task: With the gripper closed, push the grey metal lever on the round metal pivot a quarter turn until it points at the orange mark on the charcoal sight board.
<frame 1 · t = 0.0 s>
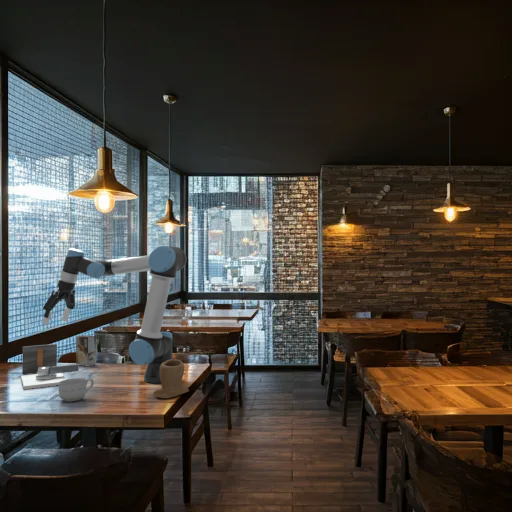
hand: (54, 322, 219), 28 cm above the table, tool tilted 20°, fingers open, 13 cm apart
base plate: (43, 381, 216), on the table
coffee box: (85, 365, 254), on the table
sight board: (39, 372, 235), on the table
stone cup: (173, 396, 191), on the table
grey metal lever: (57, 371, 220), point 4 cm above the table, hinge at 0.0°
teacup: (76, 399, 186), on the table
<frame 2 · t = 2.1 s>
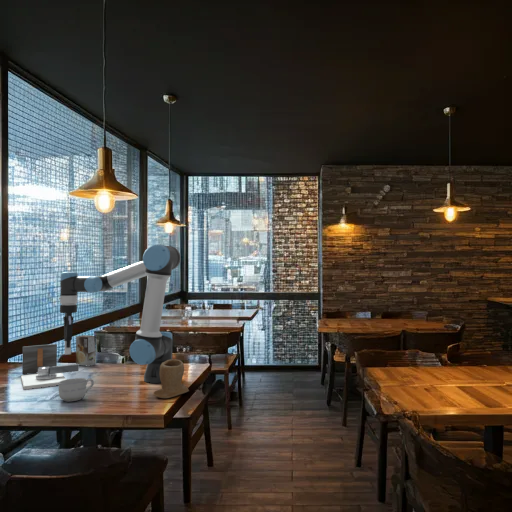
hand: (67, 354, 216), 13 cm above the table, tool pointing down, fingers closed
nothing on the table moved.
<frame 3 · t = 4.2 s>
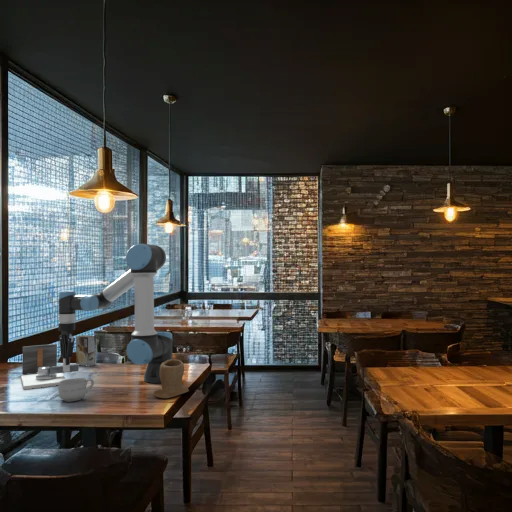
hand: (66, 371, 220), 4 cm above the table, tool pointing down, fingers closed
grey metal lever: (57, 371, 220), point 4 cm above the table, hinge at 0.0°, touching gripper
everything else where it was.
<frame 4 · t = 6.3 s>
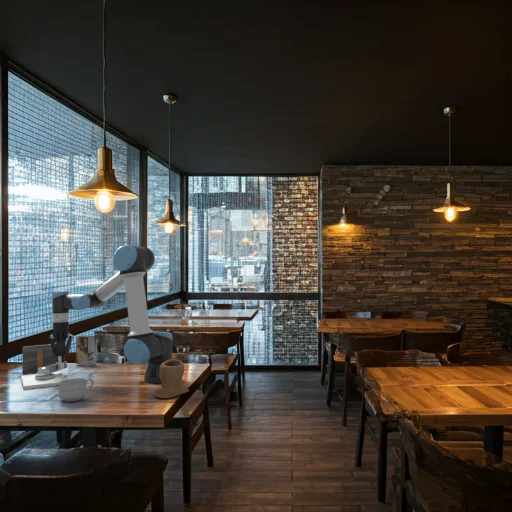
hand: (61, 369, 226), 4 cm above the table, tool pointing down, fingers closed
grey metal lever: (52, 369, 222), point 4 cm above the table, hinge at 45.0°, touching gripper
everything else where it was.
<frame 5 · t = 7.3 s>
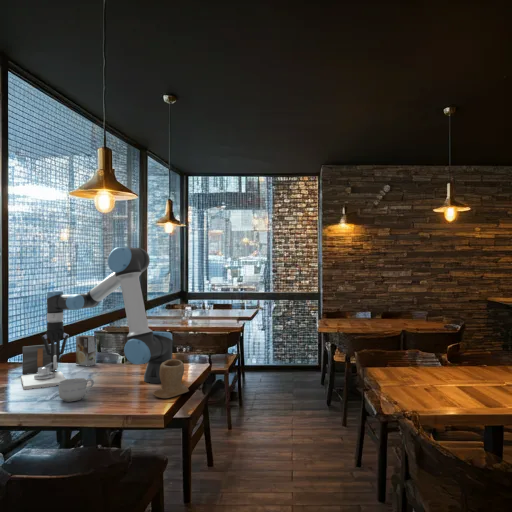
hand: (55, 368, 227), 4 cm above the table, tool pointing down, fingers closed
grey metal lever: (48, 369, 223), point 4 cm above the table, hinge at 63.9°, touching gripper
everything else where it was.
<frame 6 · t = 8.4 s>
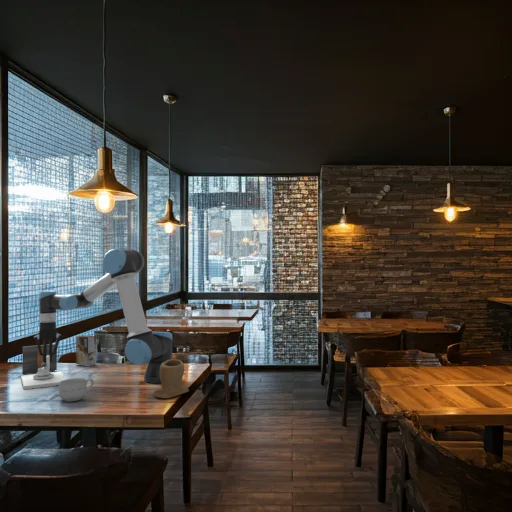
hand: (47, 368, 226), 4 cm above the table, tool pointing down, fingers closed
grey metal lever: (43, 370, 222), point 4 cm above the table, hinge at 84.7°, touching gripper
everything else where it was.
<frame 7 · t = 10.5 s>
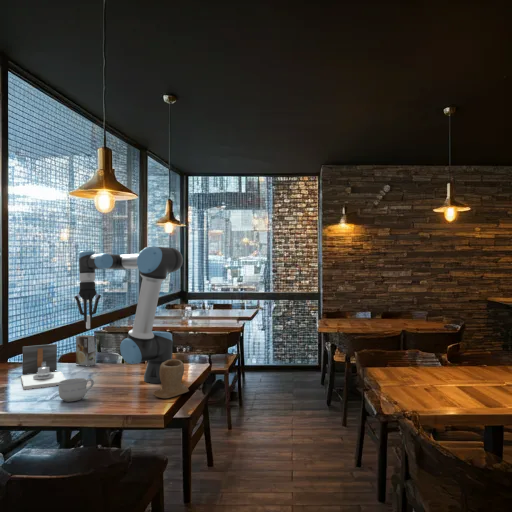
hand: (88, 328, 229), 24 cm above the table, tool pointing down, fingers closed
grey metal lever: (43, 370, 222), point 4 cm above the table, hinge at 84.8°
everything else where it was.
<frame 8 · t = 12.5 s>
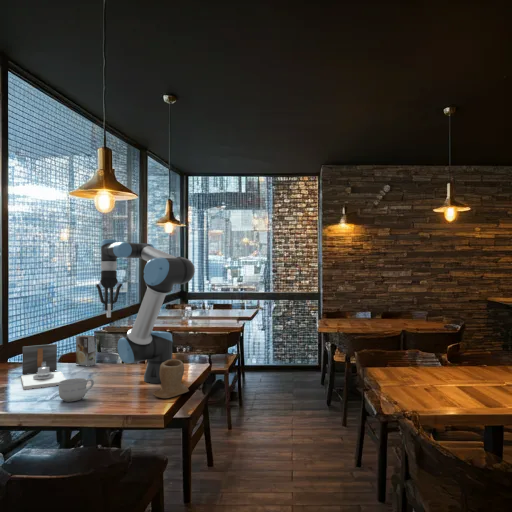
hand: (108, 317, 227), 29 cm above the table, tool pointing down, fingers closed
nothing on the table moved.
at the end: grey metal lever at +85° (first picture: +0°); coffee box moved 0.2 cm from its start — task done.
